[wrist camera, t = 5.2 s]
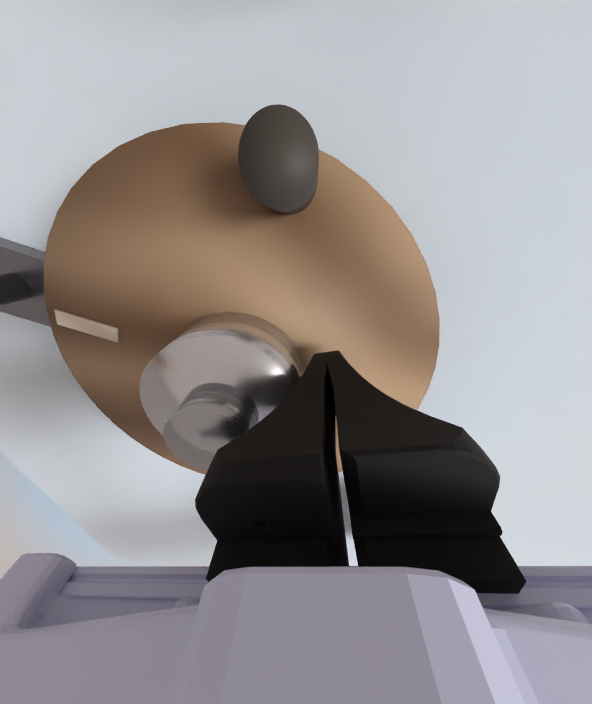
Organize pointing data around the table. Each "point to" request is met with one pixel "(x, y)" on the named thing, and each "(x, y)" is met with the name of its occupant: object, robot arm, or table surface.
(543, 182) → the table surface
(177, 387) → the cover
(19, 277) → the grey bent lever
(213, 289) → the turntable
